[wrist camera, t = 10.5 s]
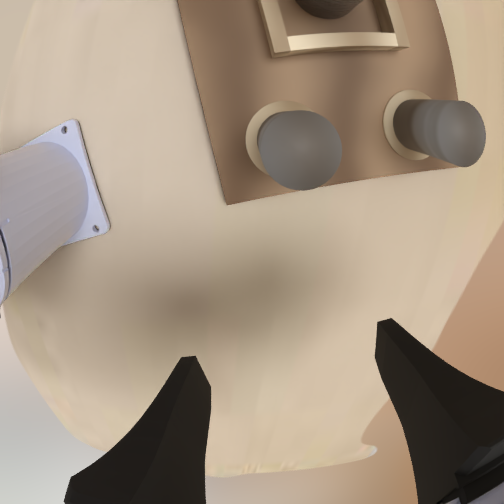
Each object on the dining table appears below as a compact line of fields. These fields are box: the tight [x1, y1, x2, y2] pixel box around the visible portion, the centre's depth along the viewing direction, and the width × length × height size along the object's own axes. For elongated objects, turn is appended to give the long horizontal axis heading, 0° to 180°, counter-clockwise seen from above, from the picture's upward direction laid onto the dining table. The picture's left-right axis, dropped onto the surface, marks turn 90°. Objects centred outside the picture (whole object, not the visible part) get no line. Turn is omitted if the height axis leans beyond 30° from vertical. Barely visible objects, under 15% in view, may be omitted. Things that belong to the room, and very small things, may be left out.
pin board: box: [178, 0, 486, 205], centre depth 11 cm, size 16×16×6 cm
